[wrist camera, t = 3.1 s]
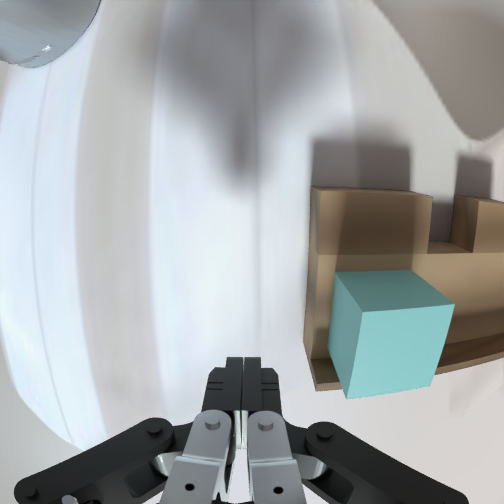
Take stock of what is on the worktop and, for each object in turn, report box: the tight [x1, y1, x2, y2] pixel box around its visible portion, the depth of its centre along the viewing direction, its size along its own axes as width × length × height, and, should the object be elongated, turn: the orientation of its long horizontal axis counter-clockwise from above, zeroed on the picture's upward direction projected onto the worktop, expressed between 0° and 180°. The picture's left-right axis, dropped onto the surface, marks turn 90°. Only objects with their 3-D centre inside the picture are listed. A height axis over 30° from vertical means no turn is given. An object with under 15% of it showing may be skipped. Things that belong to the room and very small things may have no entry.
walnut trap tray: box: [303, 187, 504, 391], centre depth 18 cm, size 11×26×6 cm, turn 91°
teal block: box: [327, 270, 455, 399], centre depth 16 cm, size 5×5×5 cm
